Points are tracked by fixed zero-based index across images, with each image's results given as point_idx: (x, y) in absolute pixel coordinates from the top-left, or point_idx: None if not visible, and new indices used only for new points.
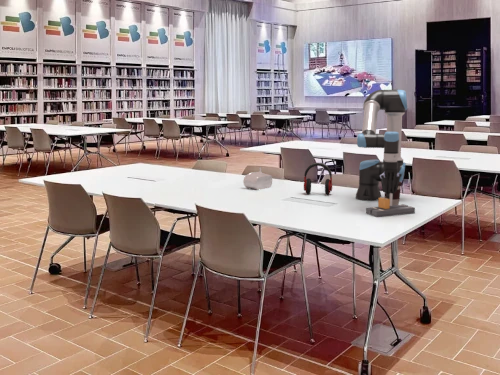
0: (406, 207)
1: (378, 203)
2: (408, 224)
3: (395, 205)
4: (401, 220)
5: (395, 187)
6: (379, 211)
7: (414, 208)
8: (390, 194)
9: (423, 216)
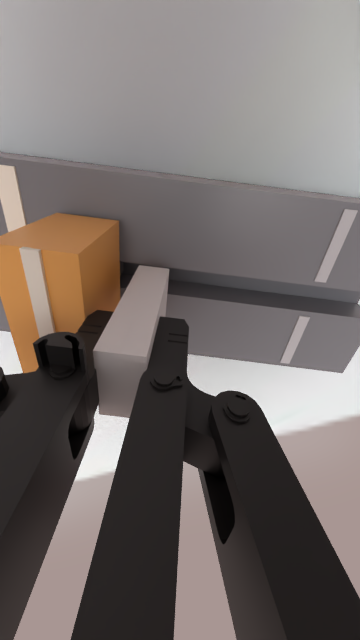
0: (289, 346)
1: (37, 223)
2: (93, 460)
3: (302, 220)
4: (109, 415)
5: (215, 533)
6: (9, 329)
7: (336, 367)
8: (108, 405)
9: (277, 414)
